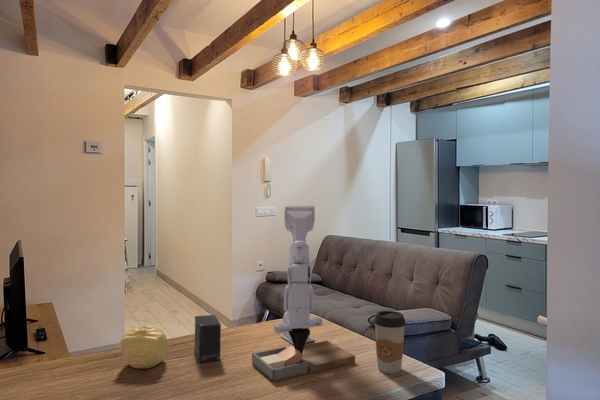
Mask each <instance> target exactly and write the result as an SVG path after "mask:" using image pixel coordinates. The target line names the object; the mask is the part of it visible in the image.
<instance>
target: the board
mask: <svg viewBox="0 0 600 400" xmlns="http://www.w3.org/2000/svg"><path fill="white" fill-rule="evenodd" d="M302 359H303V360H301V361H300V363H303V362H308V374H309V375H312V374H316V373H320V372H324V371H328V370H332V369H337V368H339V367H344V366H348V365H352V364H356V355H354V354H352V353H351V352H349V351H347V350H345V349H344V348H341V347H340V346H337V344H334V343H332V342H331V341H328V340H323V341H320V342H319V341H318V342H315V343H309V344H305V345H304V348H303V352H302Z"/></svg>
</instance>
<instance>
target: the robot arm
mask: <svg viewBox="0 0 600 400" xmlns="http://www.w3.org/2000/svg"><path fill="white" fill-rule="evenodd" d="M315 210H316V207H315V206H314V204H311V205H301V204H300V205H290V204H289V205H288V204H286V205H285V206H284V227H285V229H286V231H288V232H290V233H291V236H292V240H293V241H292V243H291V244H290V246H289V264H288V266H287V285H286V286H285V288H284V290H283V291H284V293H283V310H284V313H283V317H282V322H280V323H278V324H274V326H273V327H274V330H273V332H274V333H275V334H276V335H279V334H280V335H279V336H280V337H281V338H282V339H284V340H285V341H287V342H288V343H290V344H292V345H293V347H294V348H295V349H297V350H298V351H300V353H301V356H302V352H303V348H304V345H306V343H310V342H315V340H316V339H315V337H314V338H313V337H312V336H310V335H311V330H310V329H311V328H312V327H317V326H318V327H322V326H323V318H321V317H311V316H310V315H311V313H312V312H313V311H314V310H315V296H314V295H315V293H314V288H313V286H312V285H311V282H312V265H311V260H310V245H309V244H308V243H307V242H306V240H307V239H306V238H307V236H308V233H309V232H311V231H313V230H314V227H315V220H316V217H315V216H316V215H315V214H316V212H315ZM308 280H309V281H308ZM281 333H282V334H281Z"/></svg>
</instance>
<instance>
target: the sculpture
mask: <svg viewBox="0 0 600 400" xmlns="http://www.w3.org/2000/svg"><path fill="white" fill-rule="evenodd" d="M167 351H168V339H167V336H166V334H165V332H164V331H163V330H162V329H161V328H159V327H157V326H154V325H143V326H142V325H141V326H140V325H137V326H135V327H134V328H132V329H129V331H126V332H124V333H122V336H121V340H120V354H121V355H122V357H123V358H124V360H125V362H126V363H127V364H128V366H130V367H131V368H133V369H138V370H139V369H141V370H142V369H144V370H145V369H150V368H153V367H156V366H157V365H159V364H160V363H161V362H163V360H164V359H165V357H166V355H167Z"/></svg>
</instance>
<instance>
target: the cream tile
mask: <svg viewBox="0 0 600 400" xmlns="http://www.w3.org/2000/svg"><path fill="white" fill-rule="evenodd" d="M260 358H261V359H262V360H263V361H265V362H266V363H267V364H268V365H270V366H271V367H272V368H273V369H277V368H281V367H285V360H284V359H282V358H281V357H280V356H278V355H277V354H274V355H269V356H265V357H260Z"/></svg>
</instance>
